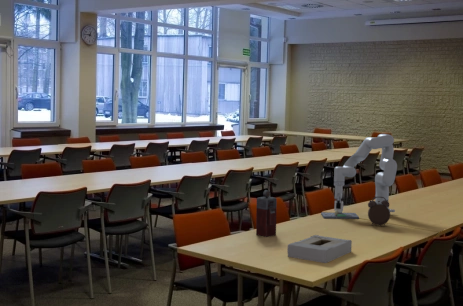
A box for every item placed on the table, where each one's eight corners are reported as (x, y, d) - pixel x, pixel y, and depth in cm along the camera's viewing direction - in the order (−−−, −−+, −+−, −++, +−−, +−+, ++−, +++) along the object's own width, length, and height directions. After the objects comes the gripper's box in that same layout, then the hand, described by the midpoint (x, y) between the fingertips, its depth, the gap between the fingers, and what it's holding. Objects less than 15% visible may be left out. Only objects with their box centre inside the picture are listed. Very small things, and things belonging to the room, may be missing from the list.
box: (314, 246, 356) (286, 257, 330) (314, 233, 356) (287, 243, 330) (351, 253, 343) (326, 264, 317) (352, 239, 343) (326, 249, 316)
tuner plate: (354, 214, 457) (355, 211, 457) (358, 218, 441) (358, 215, 441) (321, 214, 458) (321, 210, 458) (323, 218, 442) (323, 214, 442)
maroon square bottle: (269, 237, 377) (269, 192, 375) (255, 234, 385) (256, 190, 383) (278, 235, 383) (279, 190, 381) (265, 232, 391) (266, 188, 389)
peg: (335, 212, 458) (335, 200, 457) (343, 212, 456) (343, 201, 455) (331, 214, 446) (331, 203, 445) (339, 215, 444) (339, 203, 443)
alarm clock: (388, 225, 419) (389, 196, 418) (390, 227, 412) (391, 197, 410) (366, 224, 421) (367, 195, 419) (368, 226, 413) (368, 197, 412)
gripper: (334, 181, 462) (334, 206, 463) (333, 184, 446) (332, 209, 447) (344, 182, 460) (344, 206, 461) (343, 185, 444) (343, 210, 446)
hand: (338, 208), depth 454 cm, fingers closed on peg, 2 cm apart
